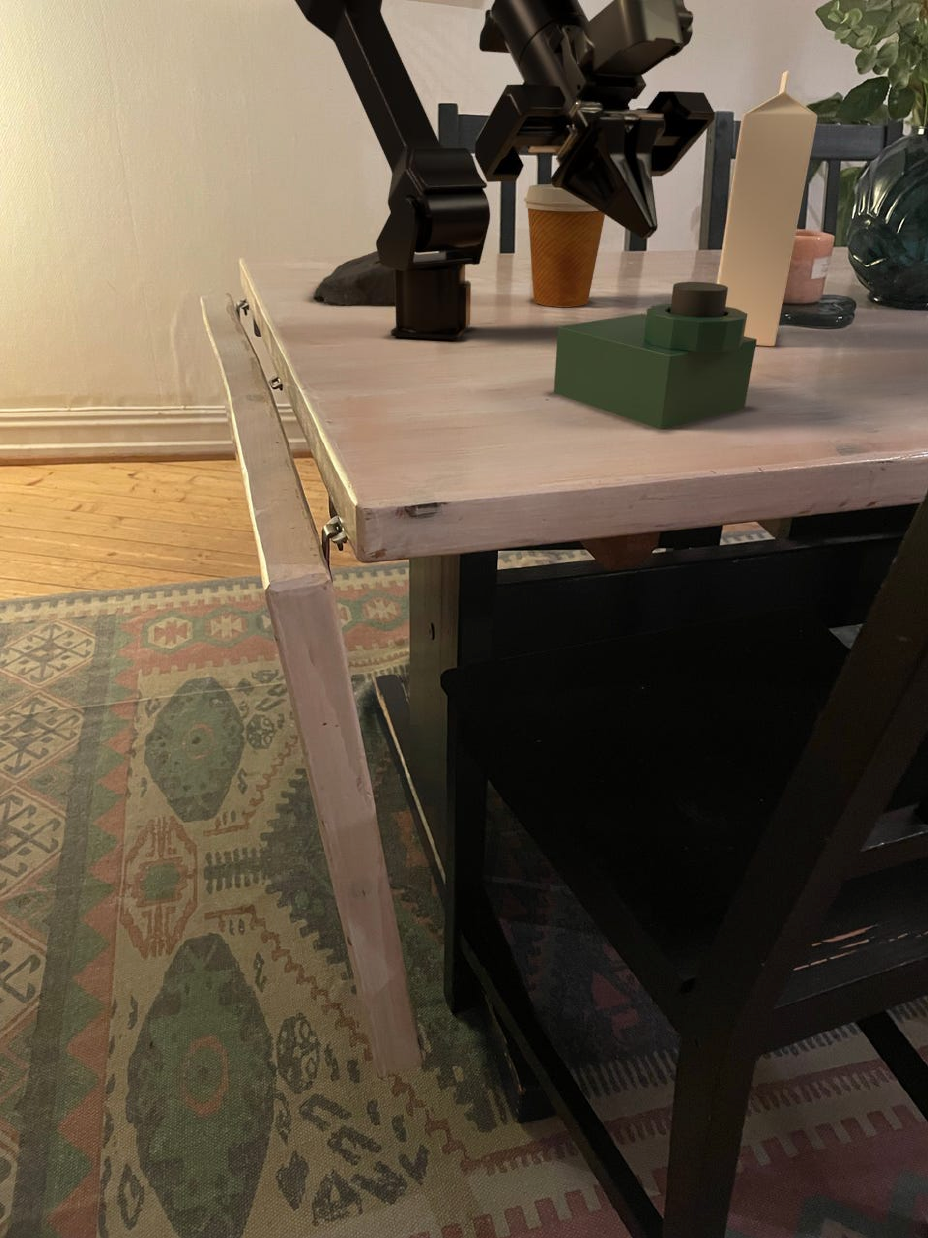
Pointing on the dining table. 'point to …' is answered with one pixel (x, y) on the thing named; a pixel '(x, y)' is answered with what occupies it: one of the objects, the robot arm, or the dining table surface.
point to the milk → (765, 210)
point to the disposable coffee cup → (562, 245)
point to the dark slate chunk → (359, 283)
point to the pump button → (698, 299)
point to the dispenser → (657, 365)
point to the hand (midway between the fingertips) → (649, 233)
